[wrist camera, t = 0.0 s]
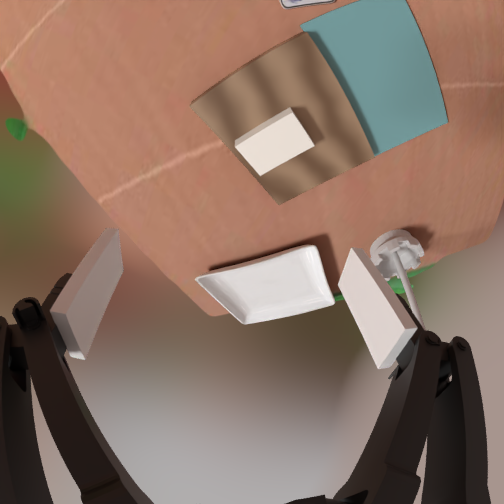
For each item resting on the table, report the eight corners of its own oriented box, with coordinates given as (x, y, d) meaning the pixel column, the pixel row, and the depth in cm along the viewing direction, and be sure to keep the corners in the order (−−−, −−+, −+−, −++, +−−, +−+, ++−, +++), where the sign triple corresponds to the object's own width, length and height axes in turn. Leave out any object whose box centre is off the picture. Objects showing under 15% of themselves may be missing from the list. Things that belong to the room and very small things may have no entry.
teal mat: (397, -11, 18) (399, -11, 18) (446, 121, 33) (448, 122, 33) (299, 25, 25) (300, 25, 24) (372, 155, 40) (373, 156, 40)
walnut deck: (303, 31, 25) (307, 32, 24) (370, 150, 39) (374, 157, 38) (191, 101, 33) (189, 106, 32) (277, 197, 47) (278, 205, 46)
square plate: (194, 266, 62) (192, 280, 59) (313, 231, 54) (316, 245, 52) (243, 315, 81) (243, 327, 79) (333, 293, 74) (336, 306, 71)
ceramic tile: (290, 107, 32) (292, 112, 31) (311, 139, 36) (314, 145, 35) (235, 140, 36) (234, 146, 35) (259, 168, 40) (260, 175, 39)
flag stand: (408, 258, 62) (446, 368, 43) (363, 266, 64) (393, 385, 45) (420, 222, 52) (474, 347, 33) (369, 230, 54) (413, 369, 35)
